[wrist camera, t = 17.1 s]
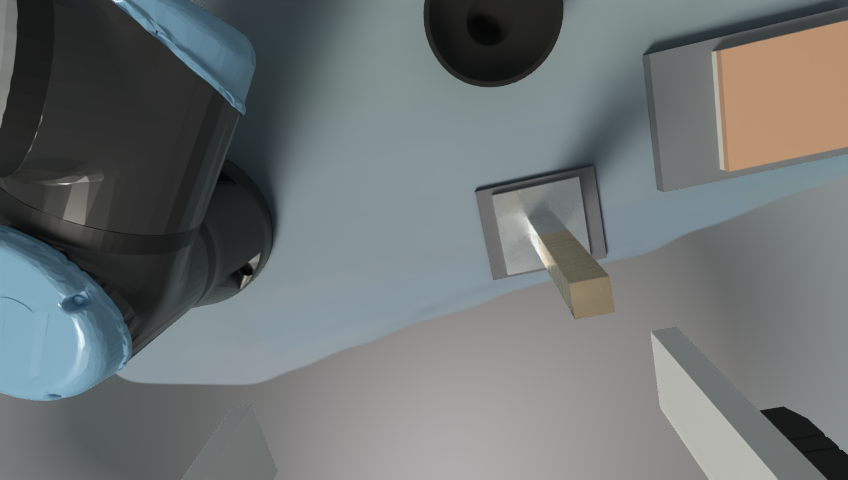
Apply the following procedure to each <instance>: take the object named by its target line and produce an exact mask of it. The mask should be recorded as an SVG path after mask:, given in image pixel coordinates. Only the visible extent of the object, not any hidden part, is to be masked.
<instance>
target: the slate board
mask: <svg viewBox="0 0 848 480" xmlns="http://www.w3.org/2000/svg"><path fill="white" fill-rule="evenodd" d="M845 20H848V6H847V7H843V8H839V9H835V10H830V11H826V12H822V13H818V14H814V15H810V16H805V17H801V18H797V19H793V20H789V21H785V22H780V23H776V24H772V25H768V26H764V27H760V28H755V29H751V30H747V31H743V32H739V33H735V34H730V35H726V36H722V37H718V38H714V39H710V40H705V41H701V42H697V43H693V44H689V45H685V46H681V47H676V48H672V49H668V50H664V51H660V52H656V53H651V54H647V55H643V63H644V72H645V82H646V91H647V100H648V109H649V118H650V128H651V137H652V146H653V155H654V165H655V174H656V183H657V189H658V190H660V191H662V192H667V191H672V190H677V189H681V188H686V187H691V186H696V185H701V184H705V183H710V182H715V181H720V180H724V179H729V178H734V177H739V176H744V175H748V174H753V173H758V172H763V171H767V170H772V169H777V168H782V167H787V166H791V165H796V164H801V163H806V162H810V161H815V160H820V159H825V158H830V157H834V156H839V155H844V154H848V147H844V148H839V149H835V150H830V151H825V152H820V153H816V154H811V155H806V156H801V157H797V158H792V159H787V160H782V161H778V162H773V163H768V164H763V165H759V166H754V167H749V168H744V169H740V170H735V171H730V172H729V171H725V170H721V169H720V161H719V147H718V134H717V120H716V107H715V93H714V79H713V66H712V52H713V51H718V50H722V49H726V48H730V47H735V46H739V45H743V44H747V43H751V42H756V41H760V40H764V39H768V38H772V37H777V36H781V35H785V34H789V33H794V32H798V31H802V30H806V29H810V28H815V27H819V26H823V25H827V24H831V23H836V22H840V21H845Z"/></svg>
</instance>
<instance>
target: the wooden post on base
mask: <svg viewBox="0 0 848 480" xmlns="http://www.w3.org/2000/svg"><path fill="white" fill-rule="evenodd" d="M492 200H493V205H494V210H495V215H496V220H497V225H498V230H499V235H500V240H501V245H502V250H503V255H504V260H505V265H506V270H507V274H508V275H511V274H516V273H522V272H527V271H532V270H537V269H542V268H546V269H547V270H548V272H549V274H550V276H551V278H552V279H553V281H554V283H555V285H556V286H557V288H558V290H559V292H560V294H561V295H562V297H563V299H564V301H565V302H566V304H567V306H568V308H569V309H570V311H571V313H572V315H573V317H574V318H575V319H579V318H585V317H591V316H595V315H601V314H607V313H612V312H614V306H613V299H612V292H611V284H610V277H609V275H608V274H607V273H606V272H605V271H604V270H603V268H602V267H601V266H600V265H599V264H598V263H597V262H596V261H595V259H594V258H593V257H592V256H591V254H590V247H589V241H588V234H587V227H586V221H585V214H584V207H583V201H582V194H581V187H580V181H579V177H578V176H575V177H570V178H565V179H561V180H556V181H551V182H547V183H542V184H538V185H533V186H528V187H524V188H519V189H515V190H510V191H505V192H501V193H496V194H492Z"/></svg>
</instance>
